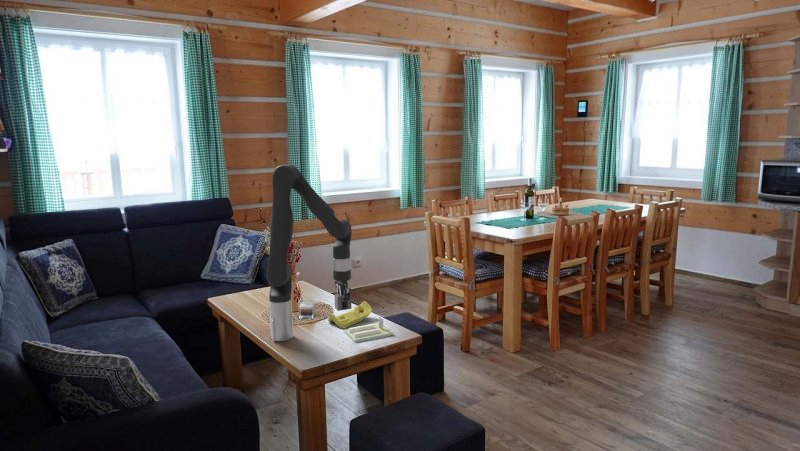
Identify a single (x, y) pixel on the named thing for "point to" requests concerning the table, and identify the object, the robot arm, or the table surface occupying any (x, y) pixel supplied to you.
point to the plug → (339, 302)
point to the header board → (368, 332)
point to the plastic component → (351, 315)
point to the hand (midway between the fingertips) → (343, 307)
